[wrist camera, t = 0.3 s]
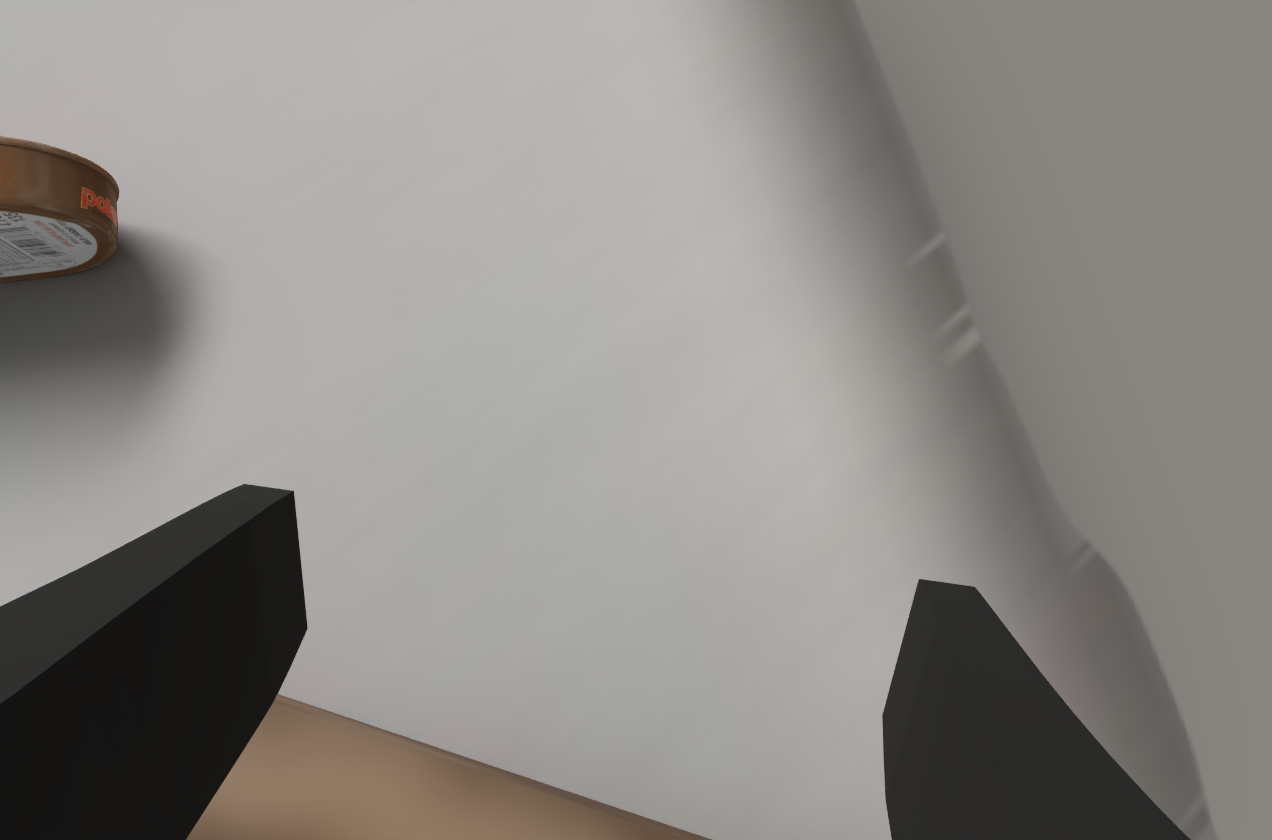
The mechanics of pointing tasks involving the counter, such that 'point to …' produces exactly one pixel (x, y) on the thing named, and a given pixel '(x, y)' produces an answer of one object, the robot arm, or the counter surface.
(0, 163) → the tin
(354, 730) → the walnut deck
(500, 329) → the counter surface
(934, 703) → the robot arm
